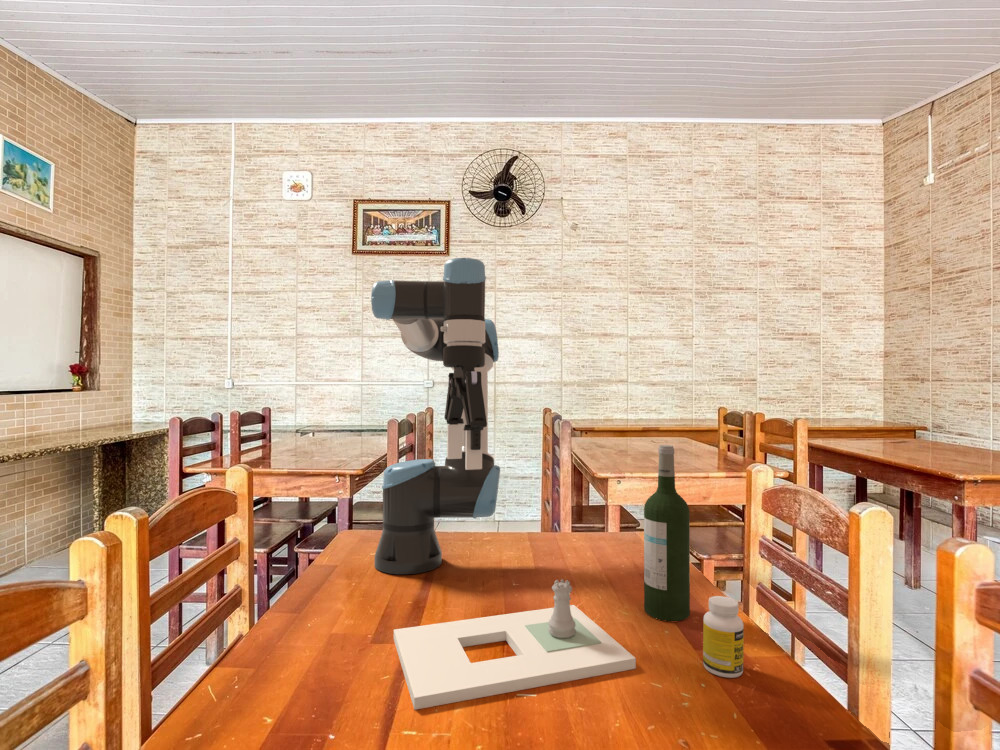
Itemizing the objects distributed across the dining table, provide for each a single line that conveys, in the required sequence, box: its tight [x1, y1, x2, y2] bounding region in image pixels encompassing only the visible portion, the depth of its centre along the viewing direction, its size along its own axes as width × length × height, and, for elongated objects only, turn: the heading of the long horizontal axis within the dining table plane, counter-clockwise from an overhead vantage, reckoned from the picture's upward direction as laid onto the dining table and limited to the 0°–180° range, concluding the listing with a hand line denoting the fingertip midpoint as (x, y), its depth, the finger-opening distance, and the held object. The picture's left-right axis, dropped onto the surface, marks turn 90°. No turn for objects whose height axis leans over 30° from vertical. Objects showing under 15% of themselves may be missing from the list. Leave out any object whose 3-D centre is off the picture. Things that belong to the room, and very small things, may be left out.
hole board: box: [393, 604, 637, 711], centre depth 83 cm, size 20×32×2 cm, turn 108°
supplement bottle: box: [702, 595, 745, 679], centre depth 78 cm, size 5×5×10 cm
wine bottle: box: [643, 444, 691, 622], centre depth 98 cm, size 8×8×30 cm
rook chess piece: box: [548, 578, 576, 639], centre depth 86 cm, size 4×4×8 cm
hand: (463, 463), depth 97 cm, fingers open, 13 cm apart
